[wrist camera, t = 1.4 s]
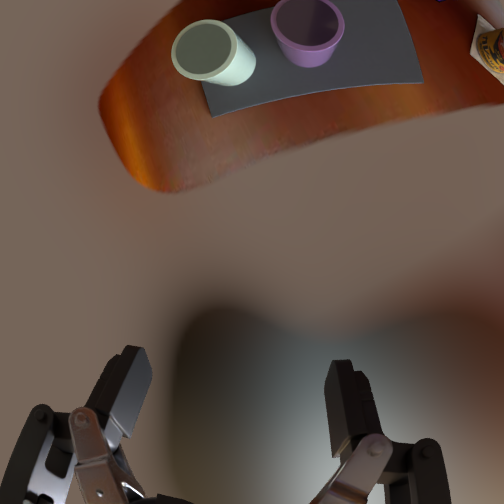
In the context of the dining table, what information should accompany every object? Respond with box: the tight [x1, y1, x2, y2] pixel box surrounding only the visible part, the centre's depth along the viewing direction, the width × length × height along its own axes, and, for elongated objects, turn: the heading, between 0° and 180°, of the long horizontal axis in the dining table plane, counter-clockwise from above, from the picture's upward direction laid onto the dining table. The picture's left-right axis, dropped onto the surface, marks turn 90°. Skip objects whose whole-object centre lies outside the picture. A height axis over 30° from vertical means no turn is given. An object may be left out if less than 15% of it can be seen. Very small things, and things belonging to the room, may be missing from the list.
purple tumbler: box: [270, 0, 345, 68], centre depth 19 cm, size 6×6×9 cm
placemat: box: [201, 0, 424, 118], centre depth 23 cm, size 12×26×1 cm, turn 106°
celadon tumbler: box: [171, 20, 256, 86], centre depth 21 cm, size 6×6×9 cm
